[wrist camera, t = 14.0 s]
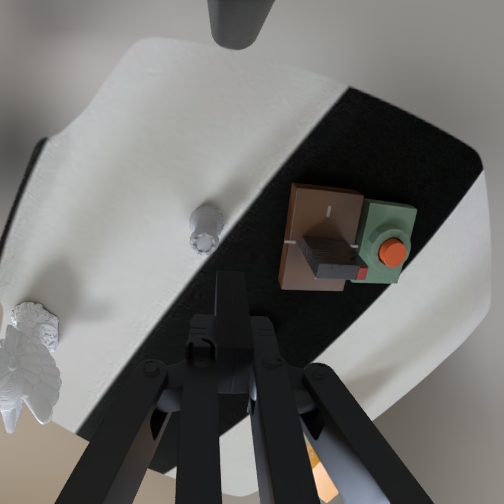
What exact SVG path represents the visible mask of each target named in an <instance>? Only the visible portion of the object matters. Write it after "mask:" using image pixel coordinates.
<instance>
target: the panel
mask: <svg viewBox="0 0 504 504" xmlns="http://www.w3.org/2000/svg"><path fill="white" fill-rule="evenodd" d="M363 198H364V195H362V194H361V193H359V192H358V191H356V190H351V189H343V188H336V187H327V186H319V185H310V184H301V183H292V187H291V195H290V202H289V209H288V216H287V223H286V230H285V237H284V244H283V251H282V258H281V264H280V271H279V277H278V279H279V282H280V285H281V288H282V289H287V290H322V291H343V288H344V284H345V280H346V279H325V278H316V277H315V275H314V273H313V272H312V270H311V268H310V266H309V264H308V262H307V261H306V259H305V257H304V255H303V253H302V252H301V250H300V245H301V239H302V236H310V237H322V238H334V239H345V240H346V241H347V242H348V243H349V244H350V246H351V247H352V248H358V245H354V242H355V237H356V233H357V228H358V223H359V218H360V213H361V208H362V203H363Z"/></svg>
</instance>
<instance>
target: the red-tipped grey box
mask: <svg viewBox="0 0 504 504" xmlns="http://www.w3.org/2000/svg"><path fill="white" fill-rule="evenodd" d="M300 250H301V252H302V253H303V255H304V257H305V259H306V261H307V262H308V264H309V266H310V268H311V270H312V272H313V273H314V275H315V277H316V278H325V279H347V280H365V279H366V275H367V271H368V268H369V266H368V265H367V264H366V262H365V261H364V260H363V259H362V258H361V257H360V256H359V254H358V253H357V252H356V251H355V250H354V249H353V248H352V247H351V246H350V244H349V243H348V242H347V241H346V240H345V239H334V238H322V237H310V236H302V239H301V245H300Z"/></svg>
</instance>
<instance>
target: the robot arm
mask: <svg viewBox="0 0 504 504" xmlns="http://www.w3.org/2000/svg"><path fill="white" fill-rule="evenodd" d="M248 391H250V398H249V404H248V411H247V413H250V418H251V427H252V436H253V445H254V454H255V462H256V471H257V479H258V487H259V496H260V503H261V504H320V500H319V495H318V491H317V487H316V483H315V479H314V475H313V471H312V466H311V462H310V458H309V454H308V450H307V446H306V442H305V438H304V434H305V436H306V438H307V439H308V441H309V443H310V444H311V446H312V448H313V450H314V451H315V453H316V455H317V457H318V458H319V460H320V462H321V463H322V465H323V467H324V469H325V470H326V472H327V474H328V475H329V477H330V479H331V480H332V482H333V484H334V485H335V487H336V489H337V490H338V492H339V494H340V495H341V497H342V499H343V500H344V502H345V503H346V504H434V503H433V501H432V500H431V499H430V498H429V496H428V495H427V494H426V492H425V491H424V490H423V488H422V487H421V486H420V484H419V483H418V482H417V480H416V479H415V478H414V476H413V475H412V474H411V473H410V471H409V470H408V469H407V467H406V466H405V465H404V463H403V462H402V461H401V459H400V458H399V457H398V455H397V454H396V453H395V451H394V450H393V449H392V447H391V446H390V445H389V443H388V442H387V441H386V439H385V438H384V437H383V436H382V434H381V433H380V432H379V430H378V429H377V428H376V426H375V425H374V424H373V422H372V421H371V420H370V418H369V417H368V416H367V414H366V413H365V412H364V410H363V409H362V408H361V406H360V405H359V404H358V402H357V401H356V400H355V398H354V397H353V396H352V394H351V393H350V392H349V390H348V389H347V388H346V386H345V385H344V384H343V382H342V381H341V380H340V378H339V377H338V376H337V374H336V373H335V372H334V370H333V369H332V368H331V367H330V366H328V365H326V364H323V363H311V364H309V365H307V366H306V367H305V369H301V368H297V367H293V366H290V365H288V364H287V363H286V362H285V360H284V358H282V357H281V356H280V353H279V348H278V344H277V340H276V336H275V332H274V328H273V323H272V322H271V321H270V320H269V318H268V317H263V316H250V313H249V307H248V300H247V293H246V286H245V279H244V272H235V271H217V278H216V296H215V315H197V314H196V315H195V316H194V317H193V318H192V320H191V324H190V332H189V340H188V341H186V344H185V359H184V360H183V361H182V362H180V363H178V364H175V365H170V366H166V365H165V364H164V363H163V362H161V361H159V360H154V359H149V360H144V361H142V362H140V363H139V364H138V365H137V366H136V368H135V369H134V371H133V372H132V374H131V376H130V377H129V379H128V380H127V382H126V384H125V385H124V387H123V388H122V390H121V392H120V393H119V395H118V396H117V398H116V400H115V401H114V403H113V405H112V406H111V408H110V409H109V411H108V413H107V414H106V416H105V418H104V419H103V421H102V423H101V424H100V426H99V428H98V429H97V431H96V433H95V434H94V436H93V438H92V439H91V441H90V443H89V444H88V446H87V448H86V449H85V451H84V453H83V455H82V456H81V458H80V460H79V461H78V463H77V465H76V467H75V468H74V470H73V472H72V474H71V475H70V477H69V479H68V480H67V482H66V484H65V486H64V488H63V489H62V491H61V493H60V495H59V497H58V498H57V500H56V502H55V504H132V503H133V501H134V498H135V496H136V494H137V491H138V489H139V487H140V484H141V482H142V480H143V478H144V475H145V473H146V471H147V468H148V466H149V464H150V461H151V459H152V457H153V455H154V452H155V450H156V448H157V445H158V443H159V441H160V438H161V436H162V434H163V432H164V429H165V427H166V425H167V422H168V420H169V418H170V416H171V412H173V411H178V410H181V412H180V425H179V439H178V455H177V473H176V496H175V504H222V491H221V470H220V446H219V415H218V393H248ZM303 432H304V434H303Z"/></svg>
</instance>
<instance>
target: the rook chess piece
mask: <svg viewBox="0 0 504 504" xmlns="http://www.w3.org/2000/svg"><path fill="white" fill-rule="evenodd" d="M223 226H224V219H223V216H222V214H221V213H220V212H219V210H218V209H216V208H214V207H212V206H202V207H199V208H197V209H196V210H195V211H194V212H193V213H192V215H191V217H190V229H191V231H192V234H191V237H190V245H191V247H192V249H193V250H194V251H195V252H197V253H198V254H200V255H201V254H202V255H208V254H210V253H213V252H214V251H215V250H216V249H217V247H218V245H219V238H218V235H220V233H221V231H222V229H223Z"/></svg>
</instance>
